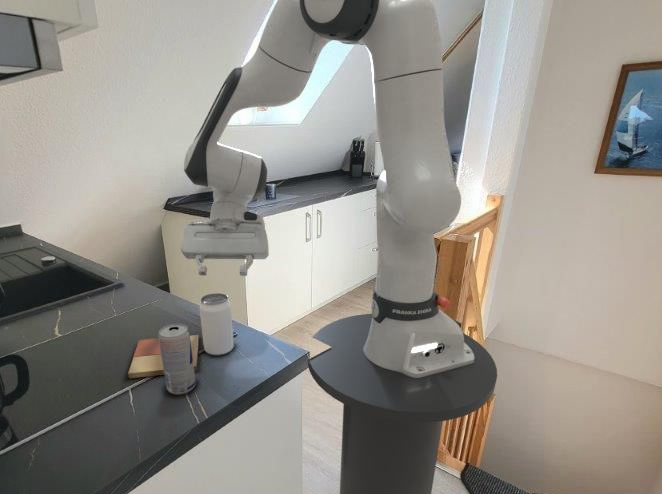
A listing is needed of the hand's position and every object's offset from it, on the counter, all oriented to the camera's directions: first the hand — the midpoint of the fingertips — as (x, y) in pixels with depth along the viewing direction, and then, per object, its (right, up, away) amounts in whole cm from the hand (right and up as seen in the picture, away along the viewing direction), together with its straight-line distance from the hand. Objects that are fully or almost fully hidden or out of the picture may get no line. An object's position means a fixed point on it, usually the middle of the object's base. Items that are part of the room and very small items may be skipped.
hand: (222, 274), depth 92 cm
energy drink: (-5, -22, -16) cm, 27 cm away
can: (0, -16, -3) cm, 17 cm away
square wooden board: (-11, -18, -6) cm, 22 cm away
